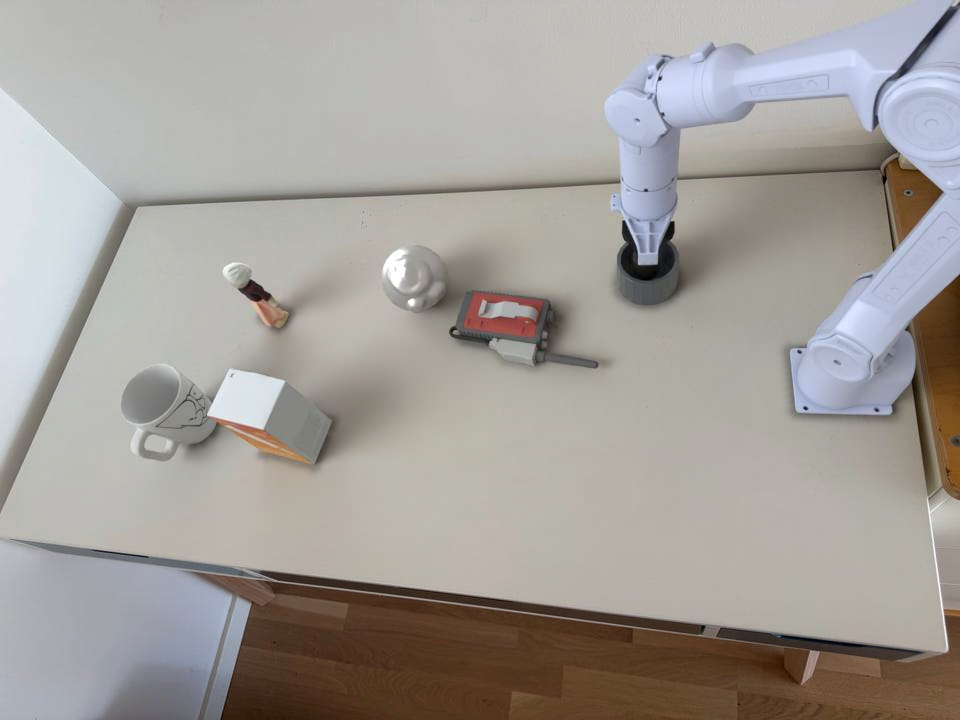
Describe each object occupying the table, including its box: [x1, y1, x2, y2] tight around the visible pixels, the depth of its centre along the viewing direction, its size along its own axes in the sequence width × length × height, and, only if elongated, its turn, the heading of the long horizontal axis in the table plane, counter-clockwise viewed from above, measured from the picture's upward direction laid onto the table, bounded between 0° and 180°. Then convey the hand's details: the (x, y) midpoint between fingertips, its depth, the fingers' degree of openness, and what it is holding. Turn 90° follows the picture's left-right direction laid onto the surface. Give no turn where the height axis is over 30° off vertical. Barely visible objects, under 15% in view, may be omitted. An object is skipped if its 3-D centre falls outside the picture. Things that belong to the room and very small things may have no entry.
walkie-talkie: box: [448, 289, 600, 369], centre depth 82 cm, size 9×4×20 cm
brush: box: [633, 252, 660, 280], centre depth 77 cm, size 3×3×10 cm
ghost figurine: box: [380, 244, 449, 315], centre depth 86 cm, size 9×10×10 cm
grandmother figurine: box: [222, 261, 290, 328], centre depth 89 cm, size 8×4×13 cm, turn 68°
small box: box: [207, 367, 333, 466], centre depth 79 cm, size 8×6×13 cm
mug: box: [119, 363, 218, 462], centre depth 84 cm, size 11×8×10 cm
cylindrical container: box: [616, 240, 680, 306], centre depth 82 cm, size 7×7×5 cm
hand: (647, 249), depth 78 cm, fingers closed on brush, 2 cm apart
